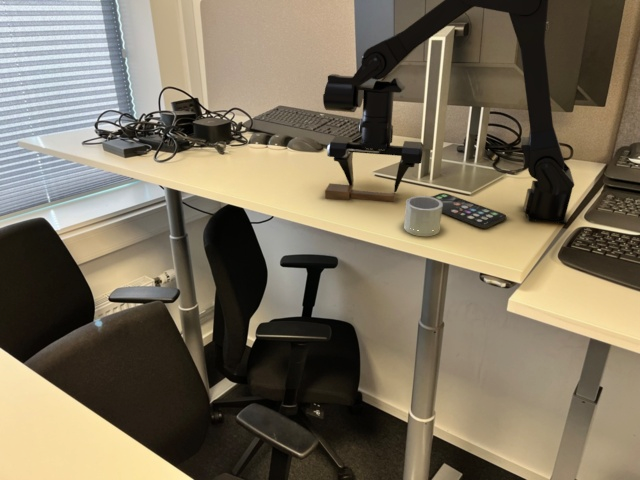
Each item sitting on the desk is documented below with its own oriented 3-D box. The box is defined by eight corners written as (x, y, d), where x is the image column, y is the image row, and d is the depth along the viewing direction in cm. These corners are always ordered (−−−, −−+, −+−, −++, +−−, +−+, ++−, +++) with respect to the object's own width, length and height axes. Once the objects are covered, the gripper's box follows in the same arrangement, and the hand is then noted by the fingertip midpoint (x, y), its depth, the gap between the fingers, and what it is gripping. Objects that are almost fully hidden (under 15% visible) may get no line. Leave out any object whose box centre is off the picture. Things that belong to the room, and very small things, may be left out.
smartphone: (443, 192, 96) (508, 215, 86) (442, 195, 97) (507, 218, 86) (419, 201, 92) (484, 226, 82) (418, 204, 93) (484, 229, 82)
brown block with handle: (395, 196, 96) (395, 188, 96) (393, 204, 93) (393, 195, 92) (329, 191, 99) (329, 183, 99) (325, 198, 96) (325, 190, 95)
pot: (440, 222, 85) (443, 197, 83) (439, 238, 80) (442, 211, 78) (405, 219, 87) (408, 194, 84) (402, 234, 81) (404, 208, 79)
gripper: (428, 107, 95) (421, 179, 102) (339, 103, 99) (338, 172, 107) (425, 120, 85) (417, 199, 93) (326, 115, 90) (326, 190, 97)
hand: (373, 189), depth 98 cm, fingers open, 9 cm apart
